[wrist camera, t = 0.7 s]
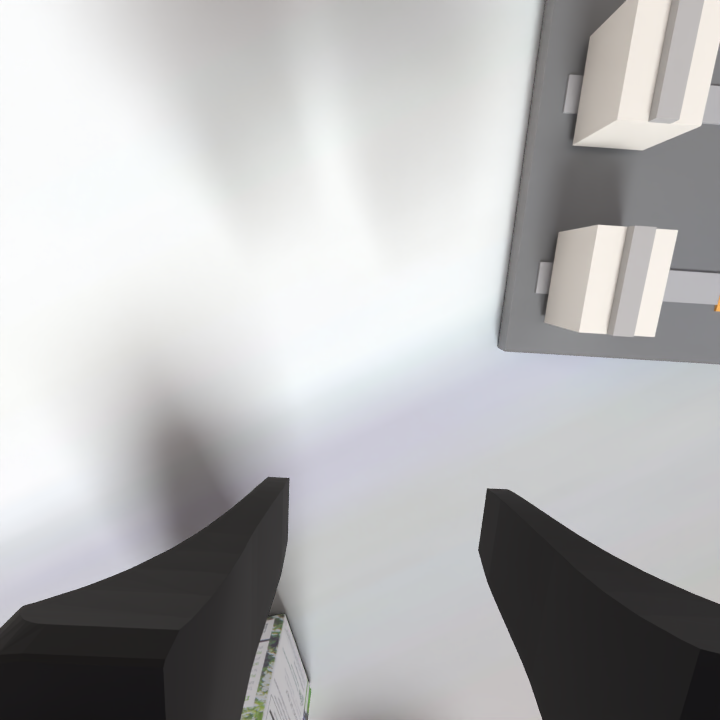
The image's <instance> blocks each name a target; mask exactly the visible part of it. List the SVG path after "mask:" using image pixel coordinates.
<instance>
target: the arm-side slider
mask: <svg viewBox="0 0 720 720" xmlns="http://www.w3.org/2000/svg"><path fill="white" fill-rule="evenodd" d="M677 233H678V230H669V229H657V227H649V226H629V227H624V226H610V225H594V226H589V227H583V228H578V229H572V230H567V231H562V232H559V233H558V239H557V245H556V251H555V258H554V264H553V270H552V276H551V282H550V289H549V295H548V301H547V307H546V314H545V320H544V323H547V324H551V325H554V326H558V327H561V328H565V329H568V330H572V331H575V332H580V333H596V334H608V335H612V336H625V337H634V336H645V337H655V333H656V329H657V324H658V320H659V315H660V310H661V306H662V301H663V297H664V292H665V288H666V283H667V279H668V274H669V270H670V265H671V261H672V256H673V252H674V247H675V243H676V238H677Z"/></svg>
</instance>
